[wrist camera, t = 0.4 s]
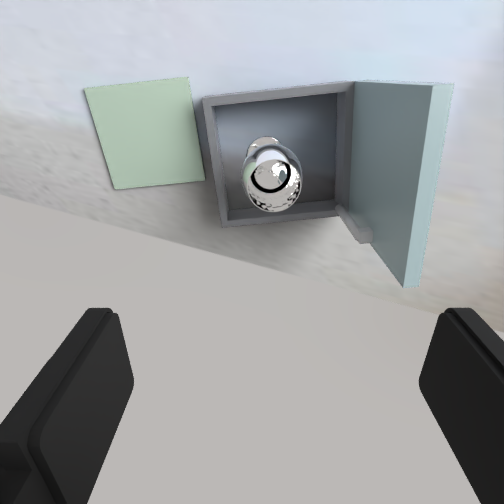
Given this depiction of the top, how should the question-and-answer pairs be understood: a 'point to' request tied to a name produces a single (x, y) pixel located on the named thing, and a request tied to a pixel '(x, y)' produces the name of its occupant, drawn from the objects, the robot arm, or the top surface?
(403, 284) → the case
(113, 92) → the mat
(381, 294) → the top surface
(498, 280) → the top surface
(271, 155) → the wineglass
